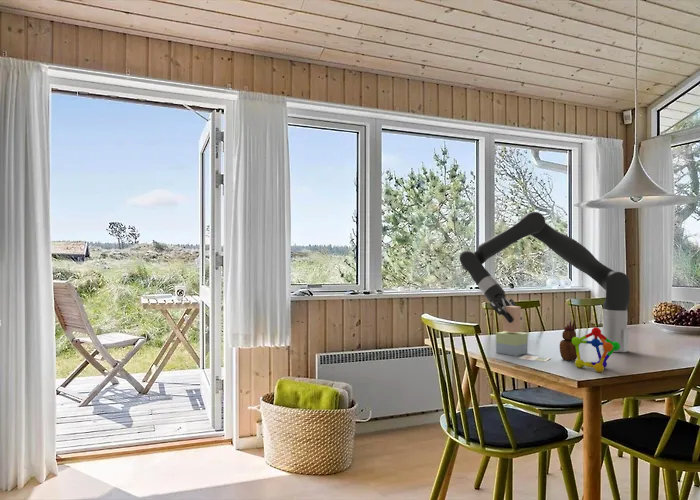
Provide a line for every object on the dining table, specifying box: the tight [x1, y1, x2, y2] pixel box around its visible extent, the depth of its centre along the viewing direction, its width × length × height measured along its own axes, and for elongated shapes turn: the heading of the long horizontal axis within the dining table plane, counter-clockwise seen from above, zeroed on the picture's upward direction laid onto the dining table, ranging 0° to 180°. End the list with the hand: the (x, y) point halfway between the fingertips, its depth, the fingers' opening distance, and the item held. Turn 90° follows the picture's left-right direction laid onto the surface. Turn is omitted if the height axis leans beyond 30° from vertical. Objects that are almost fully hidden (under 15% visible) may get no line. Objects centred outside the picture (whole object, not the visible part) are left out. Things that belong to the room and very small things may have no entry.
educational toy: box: [572, 326, 620, 373], centre depth 196 cm, size 16×13×15 cm
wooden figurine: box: [559, 319, 580, 362], centre depth 212 cm, size 7×6×15 cm
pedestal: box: [495, 331, 529, 357], centre depth 224 cm, size 9×9×8 cm
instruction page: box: [518, 354, 552, 363], centre depth 213 cm, size 10×8×1 cm
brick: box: [502, 305, 522, 332], centre depth 225 cm, size 5×5×10 cm
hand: (516, 320), depth 223 cm, fingers open, 5 cm apart
